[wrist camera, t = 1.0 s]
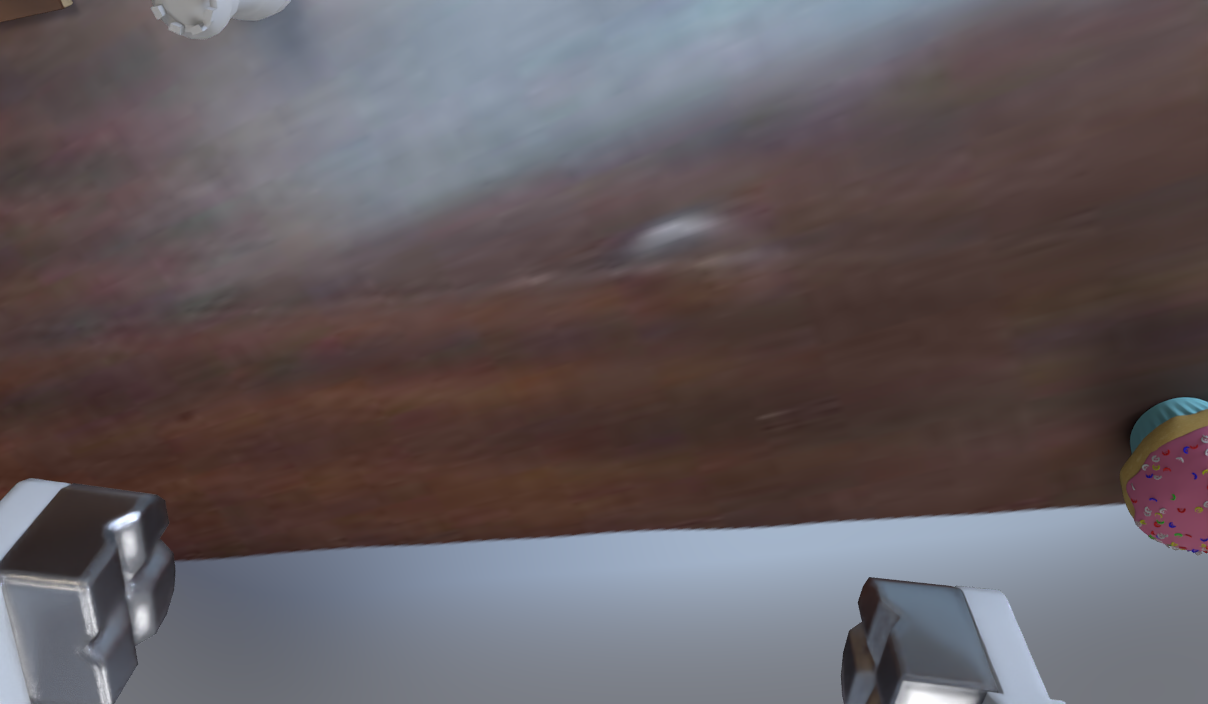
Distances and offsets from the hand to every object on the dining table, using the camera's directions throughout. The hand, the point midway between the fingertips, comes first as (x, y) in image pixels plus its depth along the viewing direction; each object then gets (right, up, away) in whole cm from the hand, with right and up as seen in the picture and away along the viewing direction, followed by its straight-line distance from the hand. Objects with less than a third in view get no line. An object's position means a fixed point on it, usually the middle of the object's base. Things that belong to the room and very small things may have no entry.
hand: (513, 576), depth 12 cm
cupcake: (+33, -2, +45) cm, 55 cm away
